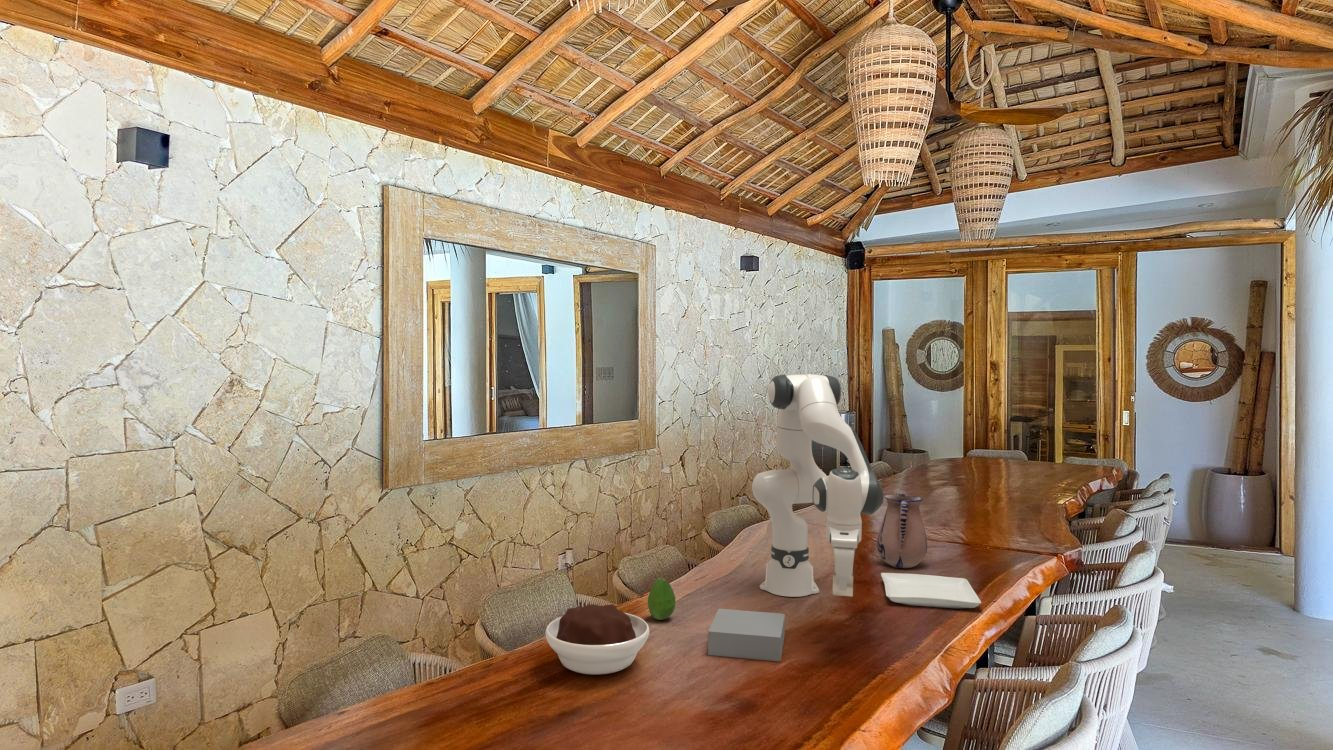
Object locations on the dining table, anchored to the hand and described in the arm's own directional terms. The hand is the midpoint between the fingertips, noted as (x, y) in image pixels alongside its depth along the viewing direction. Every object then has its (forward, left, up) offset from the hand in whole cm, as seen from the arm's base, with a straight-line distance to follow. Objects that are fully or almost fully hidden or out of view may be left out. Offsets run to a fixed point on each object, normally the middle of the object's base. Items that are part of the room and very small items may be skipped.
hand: (842, 585), depth 203 cm
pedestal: (+3, -24, -16) cm, 29 cm away
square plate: (-52, +27, -17) cm, 61 cm away
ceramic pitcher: (-86, +22, -17) cm, 90 cm away
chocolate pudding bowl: (+25, -58, -17) cm, 65 cm away
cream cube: (0, 0, -2) cm, 2 cm away
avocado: (-11, -50, -17) cm, 54 cm away
